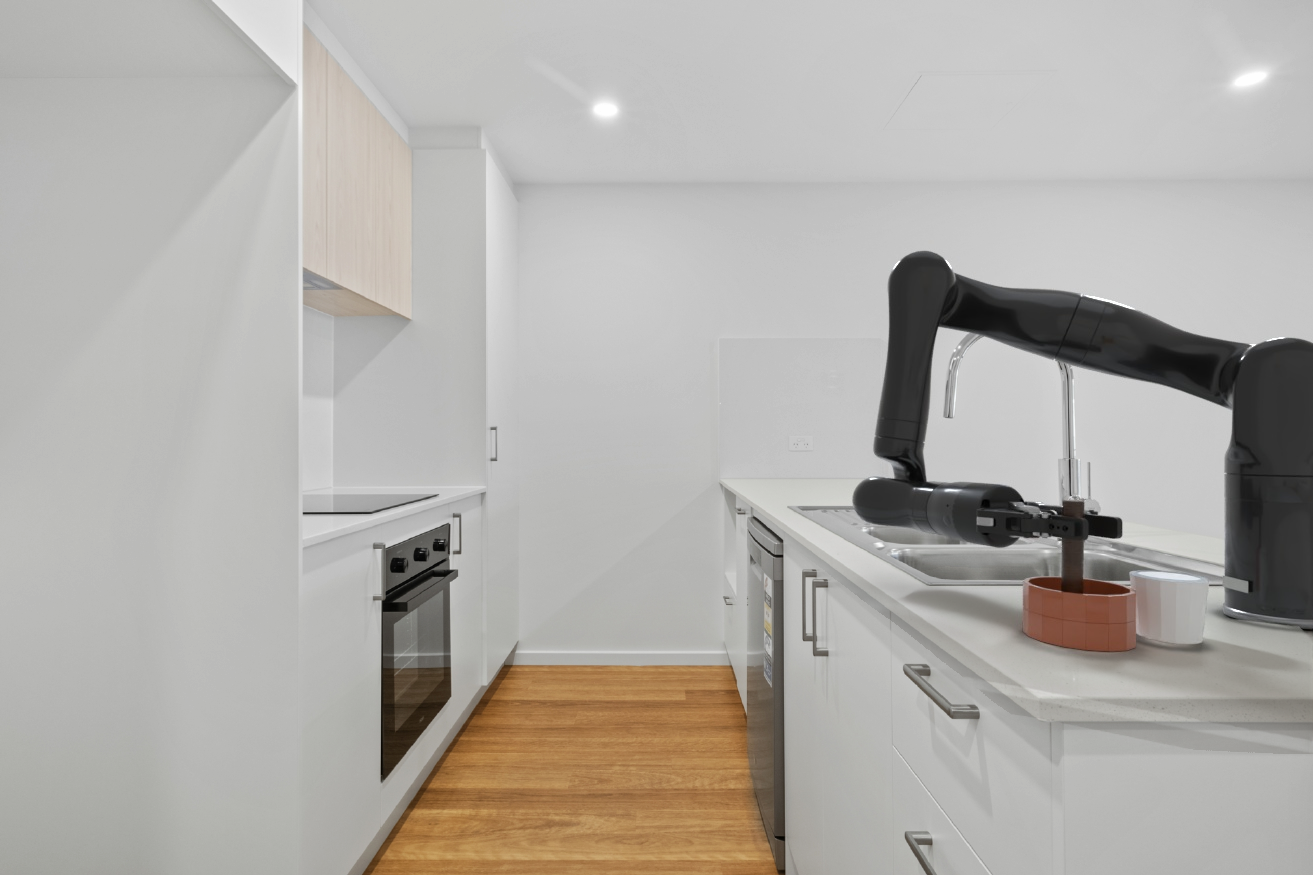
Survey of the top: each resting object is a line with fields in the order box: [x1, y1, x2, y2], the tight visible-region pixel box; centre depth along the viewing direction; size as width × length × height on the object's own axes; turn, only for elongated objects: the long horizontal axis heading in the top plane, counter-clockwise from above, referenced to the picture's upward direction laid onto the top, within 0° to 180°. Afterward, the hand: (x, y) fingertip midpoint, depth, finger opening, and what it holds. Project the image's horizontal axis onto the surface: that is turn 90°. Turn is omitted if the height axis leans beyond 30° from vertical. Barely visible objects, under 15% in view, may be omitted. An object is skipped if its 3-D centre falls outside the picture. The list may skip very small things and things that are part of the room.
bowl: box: [1022, 575, 1137, 653], centre depth 72 cm, size 10×10×6 cm
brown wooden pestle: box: [1060, 499, 1085, 594], centre depth 73 cm, size 3×3×14 cm
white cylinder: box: [1128, 569, 1210, 645], centre depth 73 cm, size 7×7×7 cm
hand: (1102, 529), depth 70 cm, fingers open, 4 cm apart
